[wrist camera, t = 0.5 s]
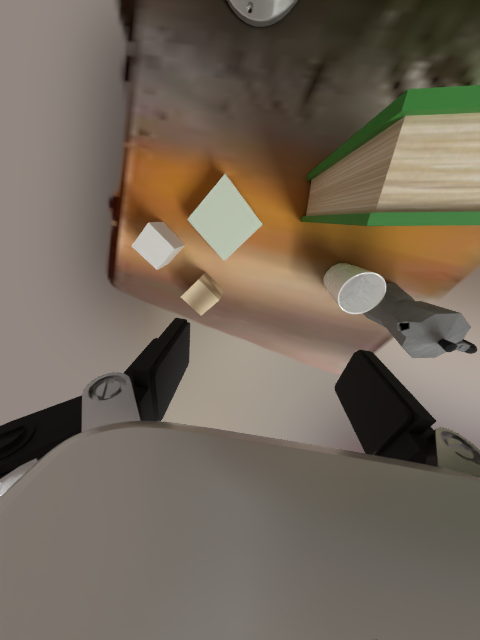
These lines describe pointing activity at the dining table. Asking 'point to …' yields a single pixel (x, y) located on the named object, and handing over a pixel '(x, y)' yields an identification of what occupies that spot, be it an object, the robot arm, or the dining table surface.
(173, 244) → the grey cube
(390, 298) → the coffeepot
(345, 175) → the hardback book
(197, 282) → the maple cube
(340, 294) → the white cup
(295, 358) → the dining table surface
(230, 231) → the base block
